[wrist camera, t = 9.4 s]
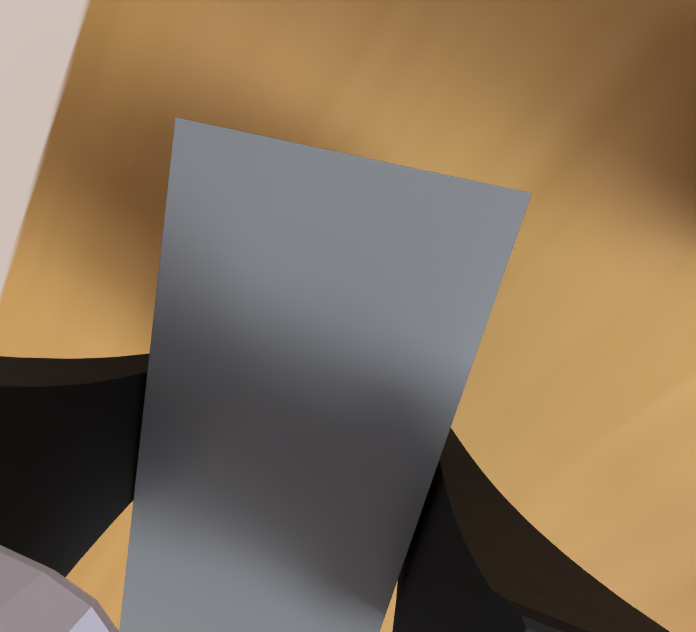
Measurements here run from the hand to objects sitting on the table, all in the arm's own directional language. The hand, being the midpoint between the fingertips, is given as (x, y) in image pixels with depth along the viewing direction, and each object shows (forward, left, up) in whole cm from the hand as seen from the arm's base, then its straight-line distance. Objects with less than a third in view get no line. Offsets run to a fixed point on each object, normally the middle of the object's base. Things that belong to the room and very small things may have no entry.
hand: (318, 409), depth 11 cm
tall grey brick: (0, 0, -2) cm, 2 cm away
